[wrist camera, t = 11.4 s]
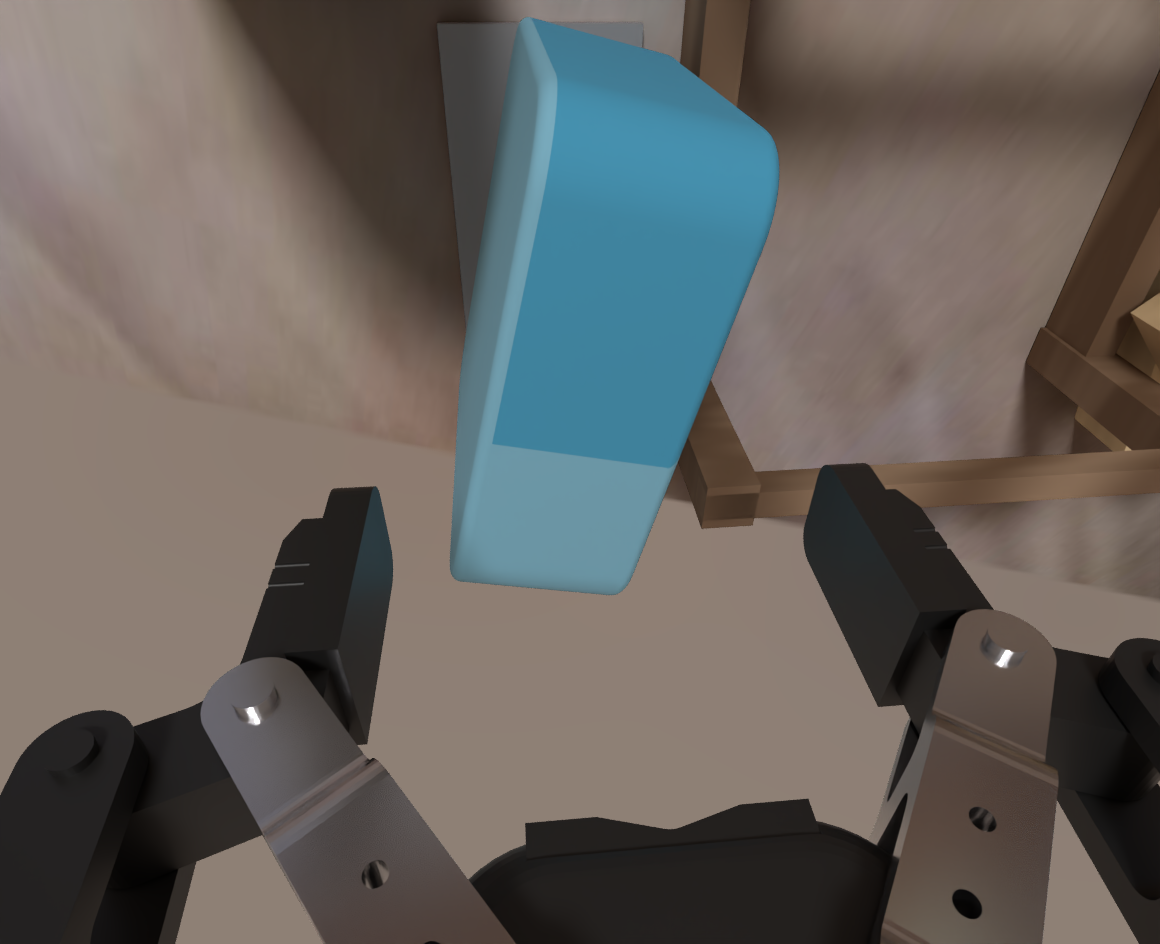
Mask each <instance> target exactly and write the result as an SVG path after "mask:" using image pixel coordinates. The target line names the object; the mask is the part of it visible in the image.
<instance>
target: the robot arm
mask: <svg viewBox="0 0 1160 944" xmlns="http://www.w3.org/2000/svg"><path fill="white" fill-rule="evenodd" d="M803 536H804V538H803V539H804V549H805V553H806V557H807V559H808V562H809V564H810V566H811V568H812V570H813V572H814V575H815V576H816V579H817V581H818V583H819V585H820V587H821V589H822V591H823V593H824V595H825V597H826V599H827V602H828V604H829V606H830V608H831V610H832V612H833V614H834V616H835V618H836V620H837V622H838V624H839V626H840V628H841V631H842V633H843V634H844V637H845V639H846V641H847V643H848V645H849V647H850V649H851V651H852V653H853V655H854V658H855V659H856V662H857V664H858V666H859V668H860V670H861V672H862V674H863V676H864V678H865V680H866V683H867V685H868V687H869V689H870V691H871V693H872V695H873V697H874V699H875V701H876V703H877V705H878V707H883V706H896V705H904V706H905V708H906V710H907V712H908V714H909V716H910V718H909V720H908V722H907V724H906V726H905V729H904V732H903V735H902V739H901V742H900V745H899V748H898V752H897V755H896V759H895V762H894V765H893V768H892V772H891V775H890V778H889V782H888V785H887V789H886V792H885V795H884V798H883V802H882V805H881V809H880V812H879V815H878V817H877V821H876V823H875V826H874V828H873V831H872V833H871V836H870V838H869V840H866V839H864V838H862V837H861V836H859V835H857V834H854V833H852V832H849V831H847V830H845V829H842V828H839V827H836V826H833V825H829V824H826V823H823V822H818V821H816V819H815V817H814V814H813V811H812V808H811V805H810V803H809V799H800V800H788V801H776V802H765V803H754V804H742V805H738V806H735V807H733V808H730V809H728V810H725V811H722V812H720V813H717V814H715V815H712V816H709V817H707V818H704V819H701V820H699V821H696V822H694V823H691V824H688V825H686V826H683V827H681V828H677V829H662V828H656V827H650V826H645V825H639V824H633V823H627V822H621V821H615V820H610V819H604V818H598V817H592V818H581V819H569V820H557V821H546V822H535V823H526V824H525V827H526V845H523V846H521V847H518V848H516V849H513V850H510V851H509V852H507V853H505V854H503V855H501V856H499V857H497V858H495V859H494V860H492V861H491V862H490V863H488V864H487V865H486V866H484V867H483V868H481V869H480V870H479V871H478V872H476V873H475V874H474V875H473V876H472V877H471V878H470V879H467V878H466V876H465V875H464V873H463V872H462V871H461V869H460V868H459V867H458V865H457V864H456V863H455V861H454V860H453V859H452V857H451V856H450V855H449V853H448V852H447V851H446V849H445V848H444V847H443V845H442V844H441V842H440V841H439V840H438V838H437V837H436V836H435V834H434V833H433V832H432V831H431V829H430V828H429V827H428V825H427V824H426V822H425V821H424V820H423V819H422V817H421V816H420V814H419V813H418V812H417V810H416V809H415V808H414V806H413V805H412V804H411V802H410V801H409V800H408V798H407V797H406V796H405V794H404V793H403V792H402V790H401V789H400V788H399V786H398V785H397V783H396V782H395V781H394V779H393V778H392V777H391V775H390V774H389V773H388V772H387V770H386V769H385V768H384V767H383V766H382V764H381V763H380V762H379V761H378V760H376V759H375V758H372V759H371V760H369V759H368V758H367V757H366V756H365V755H364V754H363V753H362V751H361V750H360V748H359V747H358V746H357V745H363V744H367V742H368V735H369V729H370V723H371V716H372V710H373V703H374V697H375V690H376V684H377V678H378V671H379V665H380V659H381V652H382V646H383V639H384V633H385V627H386V620H387V614H388V608H389V601H390V594H391V588H392V581H393V559H392V550H391V545H390V541H389V536H388V531H387V526H386V522H385V517H384V512H383V507H382V502H381V498H380V494H379V490H378V489H377V487H376V486H375V487H355V488H336V489H332V490H331V492H330V495H329V498H328V502H327V505H326V509H325V512H324V516H323V518H318V519H317V518H316V519H302V520H301V521H300V522H299V523H298V525H297V526H296V527H295V528H294V529H293V530H292V531H291V532H290V533H289V534H288V536H287V537H286V538H285V539H284V540H283V542H282V545H281V548H280V551H279V553H278V556H277V560H276V562H275V569H273V571H272V574H271V577H270V580H269V583H268V585H269V587H268V588H267V589H266V591H265V595H264V597H263V601H262V603H261V606H260V609H259V612H258V615H257V618H256V621H255V624H254V627H253V629H252V633H251V635H250V638H249V641H248V644H247V647H246V650H245V653H244V656H243V659H242V661H241V663H240V665H238V666H237V667H235V668H233V669H231V670H230V671H228V672H227V673H226V674H224V675H223V676H222V677H220V678H219V679H218V680H217V681H216V682H215V684H214V685H213V686H212V687H211V688H210V690H209V691H208V693H207V694H206V697H205V698H204V700H203V701H202V702H200V703H198V704H196V705H194V706H192V707H189V708H187V709H184V710H181V711H178V712H176V713H173V714H169V715H167V716H163V717H160V718H157V719H154V720H152V721H149V722H146V723H143V724H140V725H137V726H134V727H133V726H132V725H131V723H130V721H129V720H128V719H127V718H126V717H125V716H123V715H121V714H119V713H116V712H113V711H106V710H101V711H100V710H98V711H90V712H85V713H82V714H78V715H75V716H72V717H70V718H68V719H65V720H63V721H61V722H60V723H58V724H56V725H54V726H53V727H51V728H50V729H48V730H47V731H45V732H44V733H43V734H41V735H40V736H39V737H38V738H36V740H34V741H33V742H32V743H31V745H29V746H28V747H27V749H26V750H25V751H24V752H23V754H22V755H21V756H20V758H19V760H18V762H17V763H16V765H15V767H14V769H13V771H12V773H11V775H10V777H9V779H8V781H7V783H6V785H5V787H4V789H3V791H2V793H1V795H0V944H175V942H176V938H177V934H178V931H179V927H180V922H181V919H182V915H183V911H184V907H185V903H186V899H187V896H188V892H189V888H190V884H191V880H192V876H193V872H194V868H195V865H196V861H199V860H201V859H204V858H206V857H209V856H211V855H214V854H216V853H219V852H221V851H224V850H226V849H229V848H231V847H234V846H236V845H238V844H241V843H243V842H246V841H248V840H251V839H253V838H255V837H258V836H261V835H263V837H264V839H265V841H266V842H267V844H268V846H269V848H270V850H271V852H272V853H273V855H274V857H275V859H276V860H277V862H278V864H279V866H280V868H281V869H282V871H283V873H284V875H285V876H286V878H287V880H288V882H289V884H290V886H291V887H292V889H293V891H294V893H295V894H296V896H297V898H298V900H299V902H300V903H301V905H302V907H303V909H304V911H305V912H306V914H307V916H308V918H309V920H310V921H311V923H312V925H313V926H314V928H315V930H316V932H317V934H318V936H319V937H320V939H321V941H322V943H323V944H1042V940H1043V930H1044V920H1045V911H1046V901H1047V891H1048V882H1049V872H1050V862H1051V851H1052V842H1053V833H1054V822H1055V813H1056V804H1057V801H1058V802H1059V804H1060V806H1061V808H1062V809H1063V811H1064V813H1065V814H1066V816H1067V818H1068V820H1069V821H1070V823H1071V825H1072V827H1073V829H1074V830H1075V832H1076V834H1077V835H1078V837H1079V839H1080V841H1081V843H1082V844H1083V846H1084V848H1085V850H1086V851H1087V853H1088V855H1089V857H1090V858H1091V860H1092V862H1093V864H1094V865H1095V867H1096V869H1097V871H1098V872H1099V874H1100V876H1101V878H1102V879H1103V881H1104V883H1105V885H1106V886H1107V888H1108V890H1109V892H1110V894H1111V895H1112V897H1113V899H1114V901H1115V902H1116V904H1117V906H1118V907H1119V909H1120V911H1121V913H1122V914H1123V916H1124V918H1125V920H1126V922H1127V923H1128V925H1129V927H1130V929H1131V930H1132V932H1133V934H1134V936H1135V937H1136V939H1137V941H1138V943H1139V944H1160V786H1159V785H1158V784H1157V783H1158V782H1159V781H1160V641H1158V640H1153V639H1146V638H1135V639H1130V640H1126V641H1124V642H1122V643H1121V644H1120V645H1119V646H1118V647H1117V648H1116V649H1115V651H1114V652H1113V654H1112V655H1111V656H1110V658H1105V657H1099V656H1093V655H1089V654H1084V653H1078V652H1073V651H1068V650H1062V649H1058V648H1054V647H1052V646H1051V644H1050V643H1049V642H1048V640H1047V639H1046V638H1045V637H1044V636H1043V635H1042V634H1041V633H1040V632H1039V631H1038V630H1037V629H1036V628H1034V627H1033V626H1031V625H1030V624H1029V623H1027V622H1025V621H1024V620H1022V619H1020V618H1018V617H1015V616H1013V615H1011V614H1007V613H1005V612H1001V611H996V610H994V609H993V608H992V607H991V605H990V604H989V602H988V601H987V600H986V599H985V597H984V595H983V594H982V593H981V591H980V590H979V588H978V587H977V586H976V584H975V583H974V581H973V580H972V579H971V577H970V576H969V574H968V573H967V572H966V570H965V569H964V567H963V566H962V565H961V563H960V562H959V560H958V559H957V558H956V556H955V555H954V553H953V552H952V551H951V549H947V544H946V542H945V541H944V540H943V538H942V537H941V535H940V534H939V533H938V532H935V527H934V526H933V524H932V523H931V521H930V520H929V519H928V517H927V516H926V514H925V513H924V512H923V510H922V509H921V507H920V506H918V505H917V504H916V503H914V502H913V501H912V500H910V499H909V498H908V497H906V496H905V495H904V494H902V493H901V492H899V491H898V490H897V489H885V487H884V486H883V484H882V483H881V481H880V480H879V478H878V477H877V475H876V474H875V472H874V471H873V469H872V468H871V467H870V466H869V465H868V464H866V463H856V464H836V465H825V466H823V467H822V468H821V469H820V471H819V474H818V477H817V481H816V485H815V489H814V492H813V496H812V500H811V504H810V507H809V511H808V515H807V519H806V522H805V527H804V535H803Z"/></svg>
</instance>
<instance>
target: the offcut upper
mask: <svg viewBox="0 0 1160 944" xmlns="http://www.w3.org/2000/svg"><path fill="white" fill-rule="evenodd" d="M1131 315H1132V317H1133V319H1134V321H1135V323H1136V325H1137V327H1138V329H1139V331H1140V333H1141V335H1142V337H1143V339H1144V341H1145V343H1146V345H1147V347H1148V349H1149V351H1150V353H1151V355H1152V357H1153V359H1154V361H1155V363H1156V365H1157V367H1158V369H1159V371H1160V293H1159V294H1157V295H1156V296H1154V297H1153V298H1151V299H1150V300H1148V301H1147V302H1145V303H1144V304H1142V305H1141V306H1139V307H1138V308H1137V309H1135V310H1134V311H1132V312H1131Z"/></svg>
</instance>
